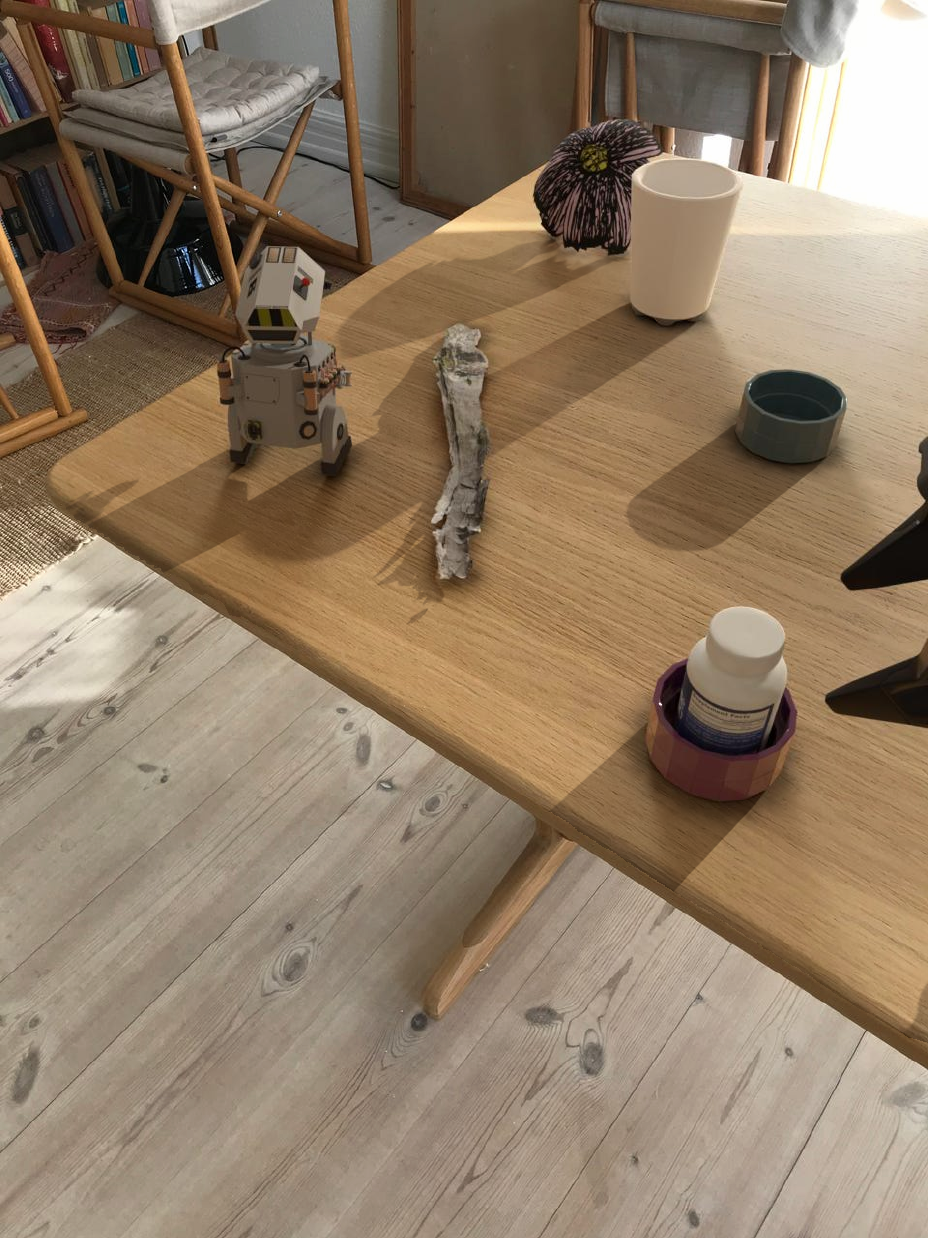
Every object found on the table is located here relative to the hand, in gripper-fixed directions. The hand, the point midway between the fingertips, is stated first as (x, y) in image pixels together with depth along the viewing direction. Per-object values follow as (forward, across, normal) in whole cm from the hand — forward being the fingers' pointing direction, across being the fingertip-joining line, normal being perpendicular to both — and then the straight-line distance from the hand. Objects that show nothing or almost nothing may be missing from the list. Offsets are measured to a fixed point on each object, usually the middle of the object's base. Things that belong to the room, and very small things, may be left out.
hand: (837, 640), depth 52 cm
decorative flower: (+28, -69, -13) cm, 76 cm away
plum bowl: (+11, 0, +4) cm, 12 cm away
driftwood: (+29, -26, -13) cm, 41 cm away
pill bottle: (+11, 0, +4) cm, 12 cm away
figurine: (+38, -21, -22) cm, 48 cm away
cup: (+20, -53, -5) cm, 57 cm away
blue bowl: (+11, -34, +5) cm, 36 cm away
